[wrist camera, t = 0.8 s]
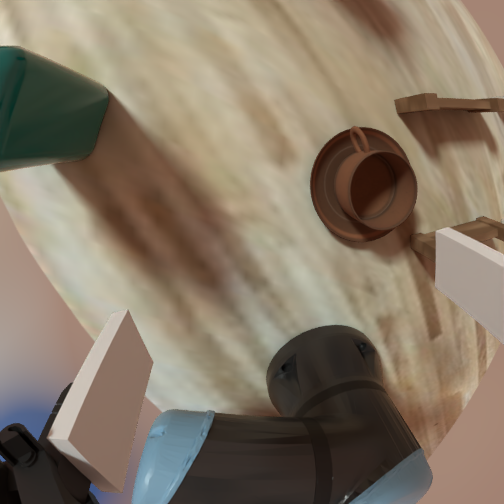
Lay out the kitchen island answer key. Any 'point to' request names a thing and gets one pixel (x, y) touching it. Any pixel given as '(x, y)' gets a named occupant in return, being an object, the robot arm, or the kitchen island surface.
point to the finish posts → (502, 98)
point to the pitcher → (46, 111)
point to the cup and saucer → (362, 184)
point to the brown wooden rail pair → (482, 225)
